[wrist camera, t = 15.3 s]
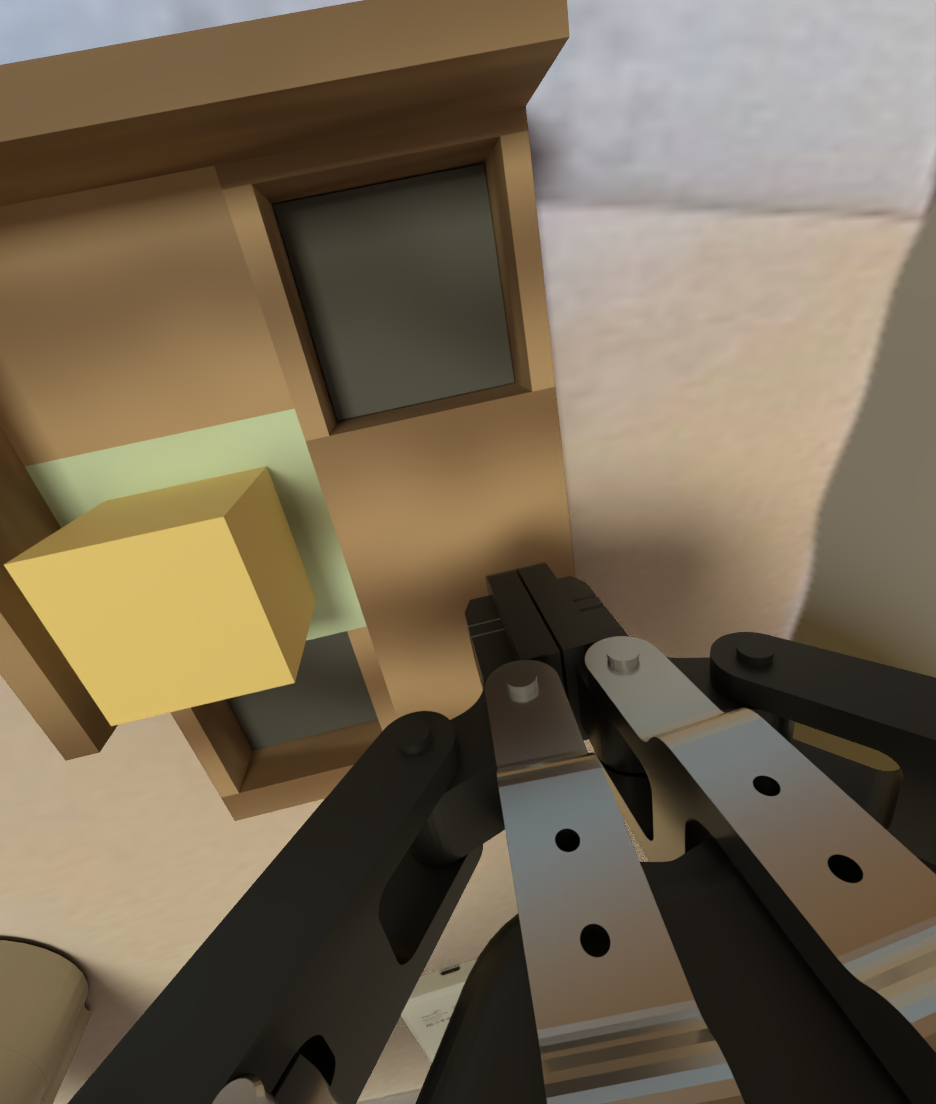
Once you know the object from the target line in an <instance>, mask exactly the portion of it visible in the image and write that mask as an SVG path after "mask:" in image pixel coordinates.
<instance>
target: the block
mask: <svg viewBox="0 0 936 1104" xmlns="http://www.w3.org/2000/svg"><path fill="white" fill-rule="evenodd" d="M4 566H5V568H6V569H7V571H8V572H9V574H10V575H11V577H12V578H13V580H14V581H15V583H16V584H17V586H18V587H19V589H20V590H21V592H22V593H23V595H24V596H25V598H26V599H27V601H28V602H29V604H30V605H31V607H32V608H33V610H34V611H35V613H36V614H37V616H38V617H39V619H40V620H41V622H42V623H43V625H44V626H45V628H46V629H47V631H48V632H49V634H50V635H51V637H52V638H53V640H54V641H55V643H56V644H57V646H58V647H59V649H60V650H61V652H62V653H63V655H64V656H65V658H66V659H67V661H68V662H69V664H70V665H71V667H72V668H73V670H74V671H75V673H76V674H77V676H78V677H79V679H80V680H81V682H82V683H83V685H84V686H85V688H86V689H87V691H88V692H89V694H90V695H91V697H92V698H93V700H94V701H95V703H96V704H97V706H98V707H99V709H100V710H101V712H102V713H103V715H104V716H105V718H106V719H107V721H108V722H109V724H110V725H111V726H114V725H119V724H123V723H127V722H131V721H136V720H140V719H144V718H148V717H152V716H157V715H161V714H165V713H169V712H174V711H178V710H182V709H186V708H191V707H195V706H199V705H203V704H208V703H212V702H216V701H220V700H224V699H229V698H233V697H237V696H241V695H246V694H250V693H254V692H258V691H263V690H267V689H271V688H275V687H280V686H284V685H288V684H292V683H295V680H296V676H297V672H298V669H299V665H300V661H301V657H302V654H303V650H304V646H305V642H306V638H307V635H308V631H309V627H310V623H311V620H312V616H313V612H314V608H315V604H316V598H315V595H314V593H313V590H312V587H311V584H310V582H309V579H308V576H307V574H306V571H305V568H304V566H303V563H302V560H301V557H300V555H299V552H298V549H297V547H296V544H295V541H294V538H293V536H292V533H291V530H290V528H289V525H288V522H287V519H286V517H285V514H284V511H283V509H282V506H281V503H280V500H279V498H278V495H277V492H276V490H275V487H274V484H273V482H272V479H271V476H270V473H269V471H268V468H267V466H264V467H260V468H255V469H250V470H246V471H241V472H236V473H232V474H227V475H222V476H218V477H213V478H208V479H204V480H199V481H194V482H190V483H185V484H180V485H176V486H171V487H166V488H162V489H157V490H153V491H148V492H143V493H139V494H134V495H129V496H125V497H120V498H115V499H111V500H106V501H104V502H102V503H101V504H99V505H97V506H96V507H94V508H93V509H91V510H90V511H88V512H86V513H85V514H83V515H82V516H80V517H78V518H77V519H75V520H74V521H72V522H70V523H69V524H67V525H66V526H64V527H63V528H61V529H59V530H58V531H56V532H55V533H53V534H51V535H50V536H48V537H47V538H45V539H44V540H42V541H40V542H39V543H37V544H36V545H34V546H32V547H31V548H29V549H28V550H26V551H25V552H23V553H21V554H20V555H18V556H17V557H15V558H13V559H12V560H10V561H9V562H7V563H5V564H4Z"/></svg>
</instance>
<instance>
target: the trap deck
mask: <svg viewBox="0 0 936 1104" xmlns="http://www.w3.org/2000/svg"><path fill="white" fill-rule="evenodd" d="M568 38H569V24H568V10H567V0H363V1H358V2H352V3H346V4H341V5H335V6H330V7H324V8H318V9H313V10H307V11H301V12H296V13H290V14H285V15H279V16H273V17H268V18H262V19H257V20H251V21H245V22H240V23H234V24H228V25H223V26H217V27H212V28H206V29H200V30H195V31H189V32H184V33H178V34H172V35H167V36H161V37H155V38H150V39H144V40H139V41H133V42H127V43H122V44H116V45H111V46H105V47H99V48H94V49H88V50H82V51H77V52H71V53H66V54H60V55H54V56H49V57H43V58H37V59H32V60H26V61H21V62H15V63H9V64H4V65H0V674H1V676H2V677H3V678H4V680H5V681H6V682H7V684H8V685H9V686H10V688H11V689H12V690H13V692H14V693H15V694H16V696H17V697H18V698H19V699H20V701H21V702H22V703H23V705H24V706H25V707H26V709H27V710H28V711H29V713H30V714H31V715H32V717H33V718H34V719H35V721H36V722H37V723H38V725H39V726H40V727H41V728H42V730H43V731H44V732H45V734H46V735H47V736H48V738H49V739H50V740H51V742H52V743H53V744H54V746H55V747H56V748H57V750H58V751H59V752H60V754H61V755H62V756H63V757H64V759H65V760H70V759H74V758H78V757H82V756H86V755H91V754H95V753H99V752H100V751H101V749H102V748H103V746H104V745H105V743H106V742H107V740H108V739H109V738H110V736H111V735H112V733H113V732H114V730H115V729H116V727H117V726H118V725H114V726H111V725H110V724H109V722H108V721H107V719H106V718H105V716H104V715H103V713H102V712H101V710H100V709H99V707H98V706H97V704H96V703H95V701H94V700H93V698H92V697H91V695H90V694H89V692H88V691H87V689H86V688H85V686H84V685H83V683H82V682H81V680H80V679H79V677H78V676H77V674H76V673H75V671H74V670H73V668H72V667H71V665H70V664H69V662H68V661H67V659H66V658H65V656H64V655H63V653H62V652H61V650H60V649H59V647H58V646H57V644H56V643H55V641H54V640H53V638H52V637H51V635H50V634H49V632H48V631H47V629H46V628H45V626H44V625H43V623H42V622H41V620H40V619H39V617H38V616H37V614H36V613H35V611H34V610H33V608H32V607H31V605H30V604H29V602H28V601H27V599H26V598H25V596H24V595H23V593H22V592H21V590H20V589H19V587H18V586H17V584H16V583H15V581H14V580H13V578H12V577H11V575H10V574H9V572H8V571H7V569H6V568H5V566H4V564H5V563H7V562H9V561H10V560H12V559H13V558H15V557H17V556H18V555H20V554H21V553H23V552H25V551H26V550H28V549H29V548H31V547H32V546H34V545H36V544H37V543H39V542H40V541H42V540H44V539H45V538H47V537H48V536H50V535H51V534H53V533H55V532H56V531H58V530H59V529H61V528H63V527H64V526H66V525H67V524H69V523H70V522H72V521H74V520H75V519H77V518H78V517H80V516H82V515H83V514H85V513H86V512H88V511H90V510H91V509H93V508H94V507H96V506H97V505H99V504H101V503H102V502H104V501H106V500H111V499H115V498H120V497H125V496H129V495H134V494H139V493H143V492H148V491H153V490H157V489H162V488H166V487H171V486H176V485H180V484H185V483H190V482H194V481H199V480H204V479H208V478H213V477H218V476H222V475H227V474H232V473H236V472H241V471H246V470H250V469H255V468H260V467H264V466H267V468H268V471H269V473H270V476H271V479H272V482H273V484H274V487H275V490H276V492H277V495H278V498H279V500H280V503H281V506H282V509H283V511H284V514H285V517H286V519H287V522H288V525H289V528H290V530H291V533H292V536H293V538H294V541H295V544H296V547H297V549H298V552H299V555H300V557H301V560H302V563H303V566H304V568H305V571H306V574H307V576H308V579H309V582H310V584H311V587H312V590H313V593H314V595H315V598H316V604H315V608H314V612H313V616H312V620H311V623H310V627H309V631H308V635H307V638H306V642H305V646H304V650H303V654H302V657H301V661H300V665H299V669H298V672H297V676H296V680H295V683H292V684H288V685H284V686H280V687H275V688H271V689H267V690H263V691H258V692H254V693H250V694H246V695H241V696H237V697H233V698H229V699H224V700H220V701H216V702H212V703H208V704H203V705H199V706H195V707H191V708H186V709H182V710H178V711H174V712H171V714H172V716H173V717H174V719H175V721H176V722H177V724H178V726H179V728H180V729H181V731H182V733H183V734H184V736H185V738H186V739H187V741H188V743H189V744H190V746H191V748H192V749H193V751H194V753H195V754H196V756H197V758H198V760H199V761H200V763H201V765H202V766H203V768H204V770H205V771H206V773H207V775H208V776H209V778H210V780H211V781H212V783H213V785H214V786H215V788H216V790H217V792H218V793H219V795H220V797H221V798H222V800H223V802H224V803H225V805H226V807H227V808H228V810H229V812H230V813H231V815H232V817H233V818H234V820H235V821H237V820H241V819H245V818H249V817H253V816H257V815H261V814H265V813H269V812H273V811H277V810H281V809H285V808H289V807H293V806H297V805H300V804H304V803H308V802H312V801H316V800H320V799H324V798H326V797H327V796H328V795H329V794H330V793H331V791H332V790H333V789H334V788H335V787H336V785H337V784H338V783H339V782H340V781H341V780H342V778H343V777H344V776H345V775H346V774H347V772H348V771H349V770H350V769H351V768H352V767H353V765H354V764H355V763H356V762H357V761H358V759H359V758H360V757H361V756H362V755H363V753H364V752H365V751H366V750H367V749H368V748H369V746H370V745H371V744H372V743H373V742H374V740H375V739H376V738H377V737H378V736H379V735H380V733H381V732H382V731H383V730H384V729H385V728H386V727H387V726H388V725H389V724H390V723H392V722H393V721H394V720H396V719H398V718H400V717H402V716H404V715H406V714H409V713H413V712H417V711H433V712H437V713H440V714H443V715H444V716H446V717H447V718H448V719H449V720H451V719H453V718H455V717H457V716H458V715H460V714H462V713H464V712H465V711H467V710H468V709H469V708H471V707H472V706H473V705H474V704H475V703H476V702H477V700H478V699H479V697H480V696H481V694H482V691H483V689H482V685H481V682H480V678H479V674H478V671H477V667H476V663H475V659H474V654H473V650H472V645H471V641H470V636H469V631H468V627H467V622H466V618H465V610H466V608H467V606H468V603H469V601H470V600H471V599H476V598H480V597H484V596H488V591H487V585H486V578H485V576H486V575H491V574H495V573H499V572H503V571H508V570H512V569H515V571H516V568H520V567H524V566H528V565H533V564H537V563H541V562H546V564H547V565H548V566H549V568H550V569H551V571H552V572H553V573H554V575H555V576H556V578H557V579H559V578H563V577H567V576H572V577H574V578H575V569H574V559H573V550H572V540H571V531H570V521H569V512H568V503H567V493H566V484H565V474H564V465H563V455H562V446H561V436H560V427H559V417H558V408H557V398H556V389H555V380H554V370H553V361H552V351H551V342H550V332H549V323H548V313H547V304H546V294H545V285H544V275H543V266H542V257H541V247H540V238H539V228H538V219H537V209H536V200H535V190H534V181H533V171H532V162H531V152H530V143H529V134H528V124H527V115H526V105H527V103H528V102H529V100H530V98H531V97H532V95H533V94H534V92H535V91H536V89H537V87H538V86H539V84H540V83H541V81H542V79H543V78H544V76H545V75H546V73H547V72H548V70H549V68H550V67H551V65H552V64H553V62H554V60H555V59H556V57H557V56H558V54H559V52H560V51H561V49H562V48H563V46H564V45H565V43H566V41H567V40H568ZM482 163H484V164H482ZM477 164H479V165H477ZM472 165H474V166H472ZM467 166H469V167H467ZM484 166H485V168H484ZM462 167H464V168H462ZM457 168H459V169H457ZM452 169H454V170H452ZM447 170H449V171H447ZM441 171H444V172H441ZM436 172H439V173H436ZM431 173H433V174H431ZM485 173H486V175H485ZM426 174H428V175H426ZM421 175H423V176H421ZM416 176H418V177H416ZM411 177H413V178H411ZM406 178H408V179H406ZM401 179H403V180H401ZM395 180H398V181H395ZM390 181H392V182H390ZM486 181H487V183H486ZM385 182H387V183H385ZM380 183H382V184H380ZM375 184H377V185H375ZM370 185H372V186H370ZM365 186H367V187H365ZM360 187H362V188H360ZM354 188H357V189H354ZM487 188H488V190H487ZM349 189H352V190H349ZM344 190H346V191H344ZM339 191H341V192H339ZM334 192H336V193H334ZM329 193H331V194H329ZM324 194H326V195H324ZM319 195H321V196H319ZM488 195H489V197H488ZM314 196H316V197H314ZM308 197H311V198H308ZM303 198H306V199H303ZM298 199H300V200H298ZM293 200H295V201H293ZM288 201H290V202H288ZM283 202H285V203H283ZM489 202H490V204H489ZM278 203H280V204H278ZM273 204H275V205H273ZM273 206H274V209H275V212H274V209H273ZM490 209H491V211H490ZM275 213H276V215H275ZM276 216H277V219H278V222H277V219H276ZM491 216H492V218H491ZM278 223H279V225H278ZM492 224H493V226H492ZM279 226H280V229H281V232H280V229H279ZM493 231H494V233H493ZM281 233H282V235H281ZM282 236H283V239H282ZM494 238H495V240H494ZM283 240H284V242H283ZM284 243H285V245H284ZM495 245H496V247H495ZM285 246H286V249H285ZM286 250H287V252H286ZM496 252H497V254H496ZM287 253H288V255H287ZM288 256H289V259H288ZM497 259H498V261H497ZM289 260H290V262H289ZM290 263H291V265H290ZM291 266H292V269H291ZM498 267H499V268H498ZM292 270H293V272H292ZM293 273H294V276H295V279H294V276H293ZM499 274H500V276H499ZM295 280H296V282H295ZM500 281H501V283H500ZM296 283H297V286H296ZM297 287H298V289H297ZM501 288H502V290H501ZM298 290H299V292H298ZM299 293H300V296H299ZM502 295H503V297H502ZM300 297H301V299H300ZM301 300H302V302H301ZM503 302H504V304H503ZM302 303H303V306H302ZM303 307H304V309H303ZM304 310H305V312H304ZM504 310H505V311H504ZM305 313H306V316H305ZM306 317H307V319H306ZM505 317H506V319H505ZM307 320H308V322H307ZM308 323H309V326H308ZM506 324H507V326H506ZM309 327H310V329H309ZM310 330H311V332H310ZM507 331H508V333H507ZM311 333H312V336H311ZM312 337H313V339H312ZM508 338H509V340H508ZM313 340H314V342H313ZM314 344H315V346H314ZM509 345H510V347H509ZM315 347H316V349H315ZM316 350H317V353H316ZM510 353H511V354H510ZM317 354H318V356H317ZM318 357H319V359H318ZM319 360H320V363H319ZM511 360H512V362H511ZM320 364H321V366H320ZM321 367H322V369H321ZM512 367H513V369H512ZM322 370H323V373H322ZM323 374H324V376H323ZM513 374H514V376H513ZM324 377H325V379H324ZM325 380H326V383H325ZM514 381H515V383H514ZM509 383H512V384H509ZM326 384H327V386H326ZM504 384H507V385H504ZM500 385H502V386H500ZM495 386H498V387H495ZM327 387H328V389H327ZM490 387H493V388H490ZM486 388H489V389H486ZM481 389H484V390H481ZM477 390H479V391H477ZM328 391H329V393H328ZM472 391H475V392H472ZM467 392H470V393H467ZM463 393H466V394H463ZM329 394H330V396H329ZM458 394H461V395H458ZM454 395H456V396H454ZM449 396H452V397H449ZM330 397H331V399H330ZM444 397H447V398H444ZM440 398H442V399H440ZM435 399H438V400H435ZM431 400H433V401H431ZM331 401H332V403H331ZM426 401H429V402H426ZM421 402H424V403H421ZM417 403H419V404H417ZM332 404H333V406H332ZM412 404H415V405H412ZM407 405H410V406H407ZM403 406H406V407H403ZM333 407H334V409H333ZM398 407H401V408H398ZM394 408H396V409H394ZM389 409H392V410H389ZM384 410H387V411H384ZM334 411H335V413H334ZM380 411H383V412H380ZM375 412H378V413H375ZM371 413H373V414H371ZM335 414H336V416H335ZM366 414H369V415H366ZM361 415H364V416H361ZM357 416H359V417H357ZM336 417H337V420H336ZM352 417H355V418H352ZM347 418H350V419H347ZM343 419H346V420H343ZM338 420H341V421H338Z"/></svg>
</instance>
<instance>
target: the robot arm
mask: <svg viewBox="0 0 936 1104" xmlns="http://www.w3.org/2000/svg"><path fill="white" fill-rule="evenodd" d="M485 578H486V585H487V591H488V596H484V597H480V598H476V599H471V600H470V601H469V603H468V606H467V608H466V610H465V618H466V622H467V627H468V631H469V636H470V641H471V645H472V650H473V654H474V659H475V663H476V667H477V671H478V674H479V678H480V682H481V685H482V689H483V691H482V694H481V696H480V697H479V699H478V700H477V702H476V703H475V704H474V705H473V706H472V707H471V708H469V709H468V710H467V711H465V712H464V713H462V714H460V715H458V716H457V717H455V718H453V719H451V720H449V719H448V718H447V717H446V716H444V715H443V714H440V713H437V712H433V711H417V712H413V713H409V714H406V715H404V716H402V717H400V718H398V719H396V720H394V721H393V722H392V723H390V724H389V725H388V726H387V727H386V728H385V729H384V730H383V731H382V732H381V733H380V735H379V736H378V737H377V738H376V739H375V740H374V742H373V743H372V744H371V745H370V746H369V748H368V749H367V750H366V751H365V752H364V753H363V755H362V756H361V757H360V758H359V759H358V761H357V762H356V763H355V764H354V765H353V767H352V768H351V769H350V770H349V771H348V772H347V774H346V775H345V776H344V777H343V778H342V780H341V781H340V782H339V783H338V784H337V785H336V787H335V788H334V789H333V790H332V791H331V793H330V794H329V795H328V796H327V797H326V798H325V800H324V801H323V802H322V803H321V804H320V806H319V807H318V808H317V809H316V810H315V811H314V813H313V814H312V815H311V816H310V817H309V819H308V820H307V821H306V822H305V823H304V824H303V826H302V827H301V828H300V829H299V830H298V832H297V833H296V834H295V835H294V836H293V838H292V839H291V840H290V841H289V842H288V843H287V845H286V846H285V847H284V848H283V849H282V851H281V852H280V853H279V854H278V855H277V856H276V858H275V859H274V860H273V861H272V862H271V864H270V865H269V866H268V867H267V868H266V869H265V871H264V872H263V873H262V874H261V875H260V877H259V878H258V879H257V880H256V881H255V882H254V884H253V885H252V886H251V887H250V888H249V890H248V891H247V892H246V893H245V894H244V895H243V897H242V898H241V899H240V900H239V901H238V903H237V904H236V905H235V906H234V907H233V909H232V910H231V911H230V912H229V913H228V914H227V916H226V917H225V918H224V919H223V920H222V922H221V923H220V924H219V925H218V926H217V927H216V929H215V930H214V931H213V932H212V933H211V935H210V936H209V937H208V938H207V939H206V940H205V942H204V943H203V944H202V945H201V946H200V948H199V949H198V950H197V951H196V952H195V953H194V955H193V956H192V957H191V958H190V959H189V961H188V962H187V963H186V964H185V965H184V966H183V968H182V969H181V970H180V971H179V972H178V974H177V975H176V976H175V977H174V978H173V980H172V981H171V982H170V983H169V984H168V985H167V987H166V988H165V989H164V990H163V991H162V993H161V994H160V995H159V996H158V997H157V998H156V1000H155V1001H154V1002H153V1003H152V1004H151V1006H150V1007H149V1008H148V1009H147V1010H146V1011H145V1013H144V1014H143V1015H142V1016H141V1017H140V1019H139V1020H138V1021H137V1022H136V1023H135V1024H134V1026H133V1027H132V1028H131V1029H130V1030H129V1032H128V1033H127V1034H126V1035H125V1036H124V1037H123V1039H122V1040H121V1041H120V1042H119V1043H118V1045H117V1046H116V1047H115V1048H114V1049H113V1051H112V1052H111V1053H110V1054H109V1055H108V1056H107V1058H106V1059H105V1060H104V1061H103V1062H102V1064H101V1065H100V1066H99V1067H98V1068H97V1069H96V1071H95V1072H94V1073H93V1074H92V1075H91V1077H90V1078H89V1079H88V1080H87V1081H86V1082H85V1084H84V1085H83V1086H82V1087H81V1088H80V1090H79V1091H78V1092H77V1093H76V1094H75V1095H74V1097H73V1098H72V1099H71V1100H70V1101H69V1103H68V1104H356V1102H357V1100H358V1098H359V1096H360V1094H361V1092H362V1090H363V1088H364V1086H365V1084H366V1083H367V1081H368V1079H369V1077H370V1075H371V1073H372V1071H373V1069H374V1067H375V1065H376V1063H377V1061H378V1059H379V1057H380V1055H381V1053H382V1051H383V1049H384V1047H385V1045H386V1043H387V1041H388V1039H389V1037H390V1035H391V1033H392V1031H393V1029H394V1027H395V1025H396V1023H397V1021H398V1019H399V1017H400V1016H401V1014H402V1012H403V1010H404V1008H405V1006H406V1004H407V1002H408V1000H409V998H410V996H411V994H412V992H413V990H414V988H415V986H416V984H417V982H418V980H419V978H420V976H421V974H422V972H423V970H424V968H425V966H426V964H427V962H428V960H429V958H430V956H431V954H432V952H433V950H434V949H435V947H436V945H437V943H438V941H439V939H440V937H441V935H442V933H443V931H444V929H445V927H446V925H447V923H448V921H449V919H450V917H451V915H452V913H453V911H454V909H455V907H456V905H457V903H458V901H459V899H460V897H461V895H462V893H463V891H464V889H465V887H466V885H467V884H468V882H469V880H470V878H471V876H472V874H473V872H474V870H475V868H476V866H477V864H478V862H479V860H480V857H481V855H482V850H483V843H485V842H486V841H488V840H489V839H491V838H492V837H494V836H496V835H497V834H499V833H500V832H502V831H503V830H505V831H506V837H507V844H508V850H509V856H510V862H511V869H512V875H513V881H514V888H515V894H516V900H517V907H518V914H517V915H515V916H514V917H513V918H512V919H511V920H510V921H508V922H507V923H506V924H505V925H504V926H503V927H502V928H501V929H500V930H499V931H498V932H497V933H496V934H495V935H494V936H493V938H492V939H491V940H490V941H489V943H488V944H487V945H486V947H485V948H484V950H483V951H482V952H481V954H480V955H479V957H478V959H477V960H476V962H475V964H474V966H473V968H472V969H471V971H470V973H469V975H468V977H467V979H466V982H465V984H464V986H463V988H462V991H461V993H460V996H459V998H458V1001H457V1003H456V1006H455V1008H454V1010H453V1013H452V1015H451V1018H450V1020H449V1023H448V1025H447V1028H446V1030H445V1033H444V1035H443V1037H442V1040H441V1042H440V1045H439V1047H438V1050H437V1052H436V1055H435V1057H434V1060H433V1062H432V1065H431V1067H430V1069H429V1072H428V1074H427V1077H426V1079H425V1082H424V1084H423V1087H422V1089H421V1092H420V1094H419V1096H418V1099H417V1101H416V1104H936V678H934V677H931V676H926V675H923V674H919V673H915V672H911V671H907V670H903V669H899V668H895V667H891V666H887V665H883V664H879V663H875V662H872V661H868V660H864V659H860V658H856V657H852V656H848V655H844V654H840V653H836V652H832V651H828V650H825V649H820V648H817V647H813V646H809V645H805V644H801V643H797V642H793V641H789V640H785V639H781V638H777V637H773V636H770V635H765V634H761V633H753V632H738V633H732V634H728V635H725V636H723V637H720V638H719V639H717V640H716V641H715V642H714V643H713V645H712V646H711V651H710V658H669V657H666V656H665V655H664V654H663V653H662V652H661V651H660V650H658V649H657V648H656V647H655V646H654V645H653V644H651V643H649V642H647V641H645V640H643V639H639V638H635V637H629V636H628V635H627V633H626V632H625V631H624V630H623V628H622V627H621V626H620V625H619V623H618V622H617V621H616V620H615V618H614V617H613V616H612V615H611V613H610V612H609V611H608V610H607V608H606V607H605V606H603V603H602V602H601V601H600V600H599V598H598V597H596V595H595V594H594V592H593V591H592V590H591V589H590V587H589V586H588V585H587V584H586V583H584V582H582V581H580V580H578V579H576V578H574V577H572V576H567V577H563V578H559V579H557V578H556V576H555V575H554V573H553V572H552V571H551V569H550V568H549V566H548V565H547V564H546V562H541V563H537V564H533V565H528V566H524V567H520V568H516V571H515V569H512V570H508V571H503V572H499V573H495V574H491V575H486V576H485ZM794 722H798V723H800V724H804V725H807V726H809V727H812V728H815V729H818V730H821V731H824V732H826V733H829V734H832V735H835V736H838V737H841V738H844V739H847V740H849V741H852V742H856V743H858V744H861V745H864V746H867V747H870V748H873V749H875V750H878V751H880V752H882V753H884V754H886V755H888V756H889V757H891V758H892V759H893V760H894V761H895V762H896V763H897V764H898V765H899V767H900V769H898V770H895V771H881V770H877V769H874V768H871V767H868V766H865V765H863V764H860V763H857V762H855V761H852V760H849V759H846V758H844V757H841V756H838V755H835V754H833V753H830V752H827V751H825V750H822V749H819V748H816V747H814V746H811V745H808V744H806V743H803V742H800V741H797V740H795V739H793V730H794ZM587 739H589V740H590V742H591V744H592V746H593V748H594V753H588V751H587V749H586V746H585V744H584V741H583V740H587ZM618 808H619V809H618ZM619 810H620V811H619ZM620 812H621V813H622V815H623V817H624V819H625V820H626V822H627V824H628V825H629V827H630V829H631V830H632V832H633V834H634V836H635V837H636V839H637V841H638V842H639V844H640V846H641V848H642V849H643V851H644V853H645V855H646V857H647V859H648V861H649V862H640V861H639V859H638V856H637V854H636V851H635V849H634V846H633V844H632V841H631V839H630V836H629V834H628V831H627V829H626V826H625V824H624V821H623V819H622V816H621V814H620ZM87 995H88V983H87V981H86V979H85V977H84V975H83V973H82V972H81V971H80V970H79V969H78V968H77V967H76V966H75V965H74V964H73V963H71V962H70V961H68V960H67V959H65V958H64V957H62V956H60V955H58V954H56V953H53V952H51V951H49V950H46V949H44V948H40V947H36V946H33V945H29V944H26V943H19V942H12V941H6V940H0V1104H53V1102H54V1100H55V1097H56V1095H57V1093H58V1090H59V1088H60V1086H61V1083H62V1081H63V1079H64V1076H65V1074H66V1072H67V1069H68V1067H69V1065H70V1062H71V1060H72V1058H73V1056H74V1053H75V1051H76V1049H77V1046H78V1044H79V1042H80V1039H81V1037H82V1035H83V1032H84V1030H85V1028H86V1025H87V1023H88V1021H89V1018H90V1016H91V1013H90V1012H89V1011H88V1010H87V1009H86V1008H85V1006H84V1005H85V1001H86V998H87Z"/></svg>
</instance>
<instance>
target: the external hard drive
mask: <svg viewBox="0 0 936 1104" xmlns="http://www.w3.org/2000/svg"><path fill="white" fill-rule="evenodd" d="M476 960H477V959H475V960H471V961H468V962H465V963H462V964H460V965H458V966H455V967H451V968H448V969H445V970H440V971H436V972H433V973H430V974H427V975H423V976H420V978H419V980H418V982H417V984H416V986H415V988H414V990H413V992H412V994H411V996H410V998H409V1000H408V1002H407V1004H406V1006H405V1008H404V1010H403V1012H402V1014H401V1017H402V1019H403V1020H404V1022H405V1023H406V1025H407V1026H408V1028H409V1030H410V1031H411V1032H412V1034H413V1035H414V1037H415V1038H416V1040H417V1041H418V1043H419V1044H420V1046H421V1047H422V1049H423V1050H424V1052H425V1053H426V1055H427V1056H428V1058H429V1060H430V1061H431V1063H432V1062H433V1060H434V1057H435V1055H436V1052H437V1050H438V1047H439V1045H440V1042H441V1040H442V1037H443V1035H444V1033H445V1030H446V1028H447V1025H448V1023H449V1020H450V1018H451V1015H452V1013H453V1010H454V1008H455V1006H456V1003H457V1001H458V998H459V996H460V993H461V991H462V988H463V986H464V984H465V982H466V979H467V977H468V975H469V973H470V971H471V969H472V968H473V966H474V964H475V962H476Z"/></svg>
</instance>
